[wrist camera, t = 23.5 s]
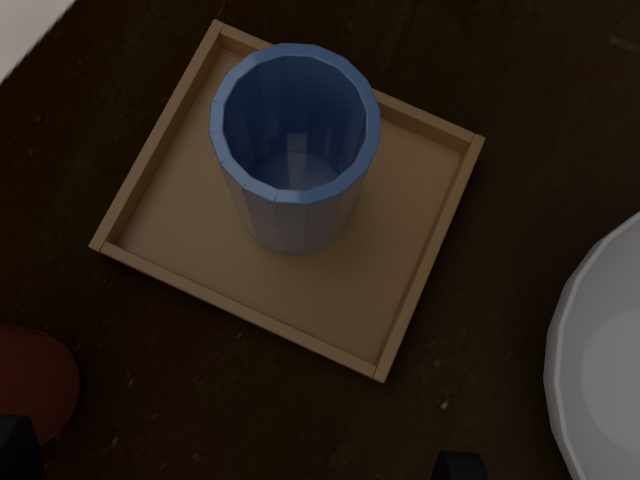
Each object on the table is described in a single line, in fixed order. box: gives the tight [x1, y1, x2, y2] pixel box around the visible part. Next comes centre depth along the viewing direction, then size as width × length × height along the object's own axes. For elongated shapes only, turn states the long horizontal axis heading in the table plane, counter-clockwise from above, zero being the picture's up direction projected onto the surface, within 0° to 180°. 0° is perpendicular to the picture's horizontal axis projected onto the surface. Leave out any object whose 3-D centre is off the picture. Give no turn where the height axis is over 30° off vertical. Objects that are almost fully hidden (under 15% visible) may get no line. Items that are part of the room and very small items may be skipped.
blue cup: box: [208, 43, 380, 256], centre depth 24 cm, size 6×6×10 cm
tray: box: [88, 19, 485, 383], centre depth 28 cm, size 15×13×2 cm
